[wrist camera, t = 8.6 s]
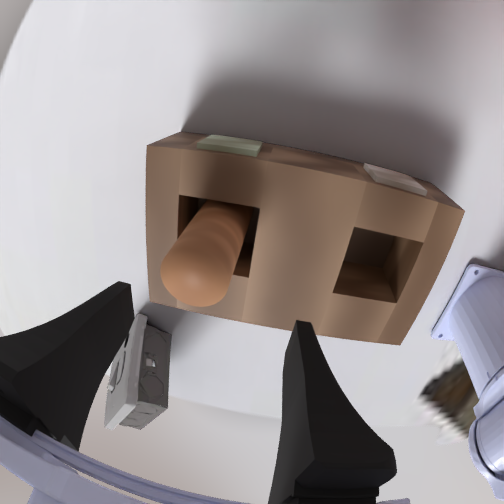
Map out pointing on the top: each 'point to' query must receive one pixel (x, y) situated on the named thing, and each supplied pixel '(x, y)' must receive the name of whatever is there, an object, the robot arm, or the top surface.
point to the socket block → (304, 234)
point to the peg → (206, 253)
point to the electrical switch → (139, 377)
